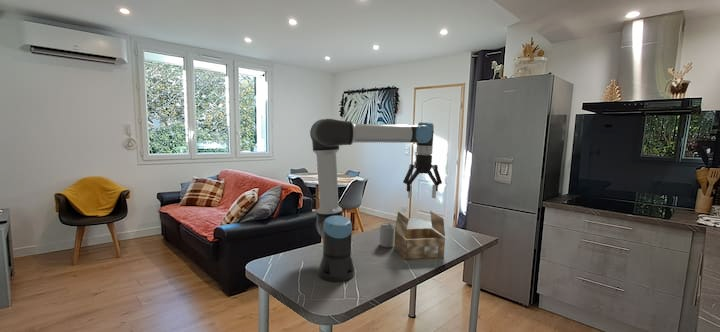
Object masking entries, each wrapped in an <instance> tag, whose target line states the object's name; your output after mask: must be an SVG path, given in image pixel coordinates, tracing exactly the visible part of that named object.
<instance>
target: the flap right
mask: <svg viewBox="0 0 720 332" xmlns="http://www.w3.org/2000/svg"><path fill="white" fill-rule="evenodd" d="M429 214H430V221H431V229H433V230H434V231H436V232H437V233H439V234H440V235H441V236H443V237H446V232H445V221H444V220H445V219H444V217H442V216H441V215H439V214H437V213H436V212H433V211H432V210H430V212H429Z"/></svg>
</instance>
